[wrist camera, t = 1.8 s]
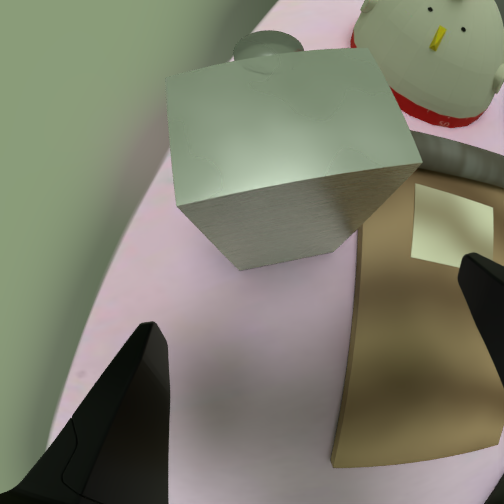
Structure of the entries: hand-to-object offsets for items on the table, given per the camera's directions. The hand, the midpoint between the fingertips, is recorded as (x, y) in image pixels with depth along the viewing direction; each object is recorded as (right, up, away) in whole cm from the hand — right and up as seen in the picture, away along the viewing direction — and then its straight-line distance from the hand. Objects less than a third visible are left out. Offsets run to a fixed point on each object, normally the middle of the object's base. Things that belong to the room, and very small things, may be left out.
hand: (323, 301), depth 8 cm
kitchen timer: (+14, +18, +14) cm, 27 cm away
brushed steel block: (0, +3, +12) cm, 12 cm away
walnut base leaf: (+11, -2, +10) cm, 15 cm away
